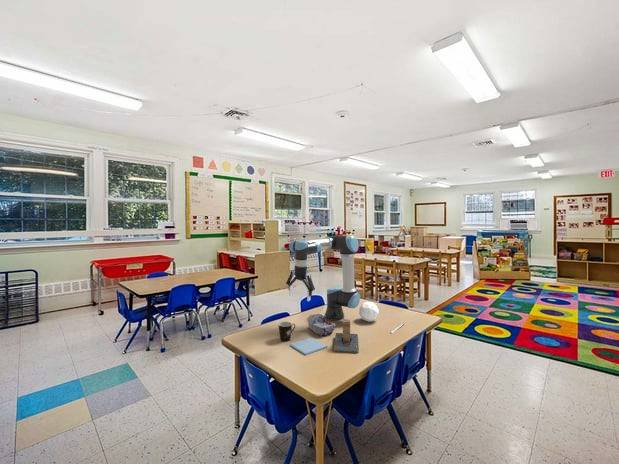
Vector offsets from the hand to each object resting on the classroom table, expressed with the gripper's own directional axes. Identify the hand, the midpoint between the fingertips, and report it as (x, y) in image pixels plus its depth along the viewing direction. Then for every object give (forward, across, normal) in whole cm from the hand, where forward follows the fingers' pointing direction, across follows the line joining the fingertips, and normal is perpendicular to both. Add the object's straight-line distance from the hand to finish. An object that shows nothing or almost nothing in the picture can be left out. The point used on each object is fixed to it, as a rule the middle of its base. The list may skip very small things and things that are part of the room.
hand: (299, 297), depth 182 cm
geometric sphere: (+30, +28, +54) cm, 67 cm away
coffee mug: (+28, -5, -6) cm, 28 cm away
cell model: (+28, +7, +17) cm, 34 cm away
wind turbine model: (+28, +49, +53) cm, 77 cm away
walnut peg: (+25, +31, +7) cm, 40 cm away
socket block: (+25, +31, +7) cm, 40 cm away
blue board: (+25, +12, -8) cm, 29 cm away
